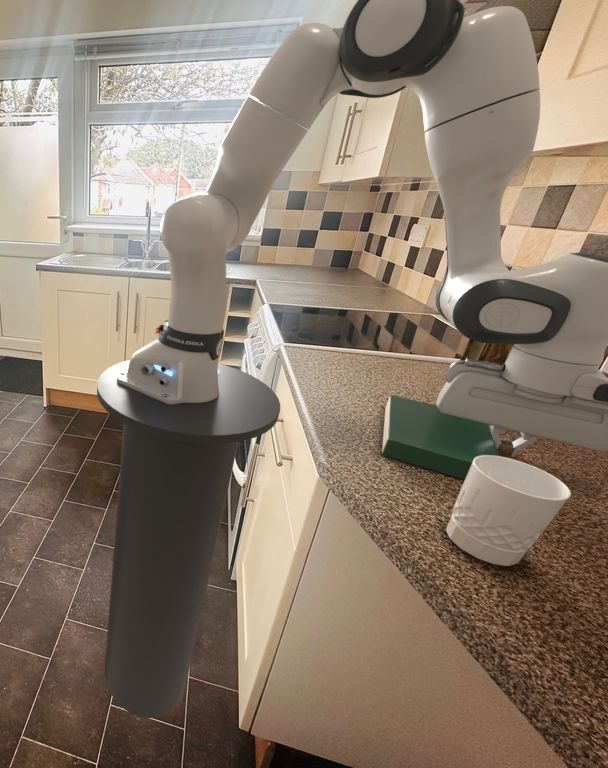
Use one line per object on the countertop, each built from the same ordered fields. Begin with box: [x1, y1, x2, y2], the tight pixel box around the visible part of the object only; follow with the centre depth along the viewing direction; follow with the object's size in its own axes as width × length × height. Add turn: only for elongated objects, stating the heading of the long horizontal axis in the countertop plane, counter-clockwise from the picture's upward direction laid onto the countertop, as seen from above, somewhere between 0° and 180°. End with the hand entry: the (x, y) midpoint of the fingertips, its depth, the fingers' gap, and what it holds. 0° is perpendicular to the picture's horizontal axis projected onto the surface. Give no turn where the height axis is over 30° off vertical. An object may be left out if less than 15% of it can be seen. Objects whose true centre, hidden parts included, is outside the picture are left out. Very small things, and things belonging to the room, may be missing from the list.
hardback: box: [381, 394, 501, 481], centre depth 70 cm, size 14×20×3 cm
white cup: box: [445, 455, 572, 567], centre depth 47 cm, size 8×8×10 cm
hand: (501, 453), depth 66 cm, fingers closed
